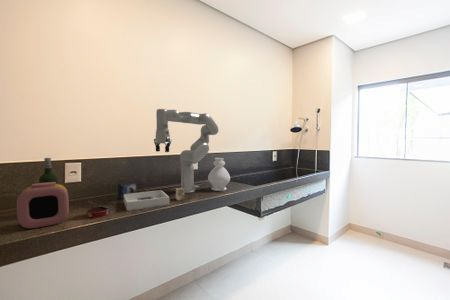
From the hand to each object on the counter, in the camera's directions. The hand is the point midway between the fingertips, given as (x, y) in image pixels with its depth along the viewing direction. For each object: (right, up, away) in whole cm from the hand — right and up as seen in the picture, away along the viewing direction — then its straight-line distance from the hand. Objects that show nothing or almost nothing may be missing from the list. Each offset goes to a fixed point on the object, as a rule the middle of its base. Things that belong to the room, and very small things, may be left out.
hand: (162, 151), depth 156 cm
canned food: (-24, -34, -37) cm, 55 cm away
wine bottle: (-51, -33, -35) cm, 70 cm away
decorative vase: (+39, -31, +25) cm, 55 cm away
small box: (-23, -32, -4) cm, 39 cm away
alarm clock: (-42, -34, -49) cm, 73 cm away
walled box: (-6, -32, -16) cm, 37 cm away
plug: (+13, -32, -5) cm, 35 cm away
